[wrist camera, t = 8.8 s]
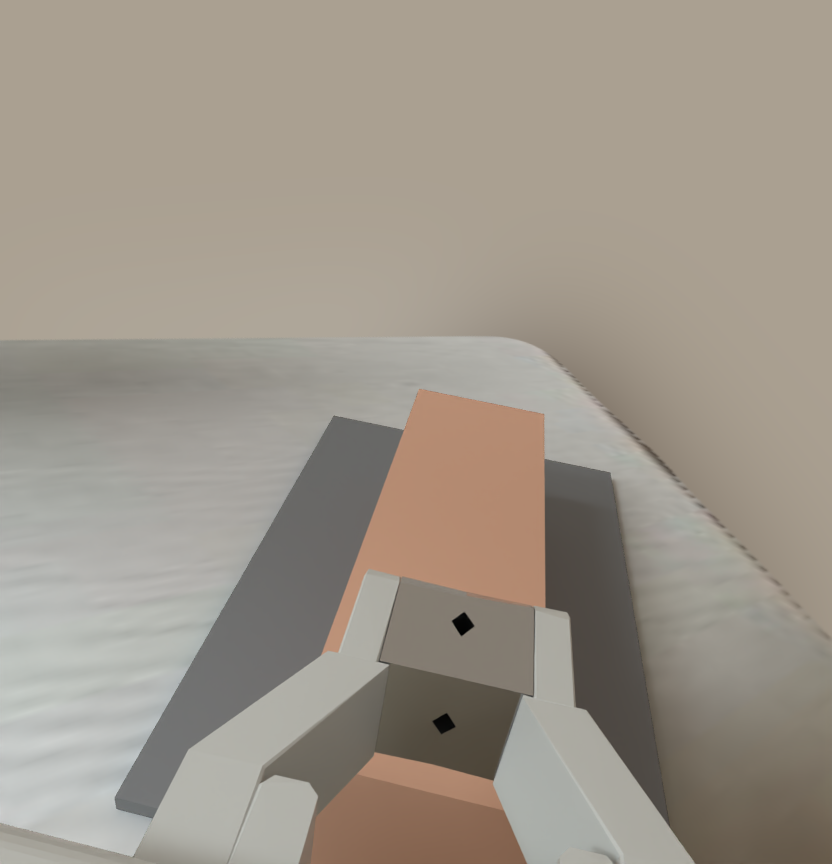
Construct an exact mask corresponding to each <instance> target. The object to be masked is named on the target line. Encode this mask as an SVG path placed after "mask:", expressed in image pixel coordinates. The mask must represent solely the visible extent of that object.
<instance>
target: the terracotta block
mask: <svg viewBox="0 0 832 864" xmlns="http://www.w3.org/2000/svg"><path fill="white" fill-rule="evenodd" d="M368 569H372V570H376V571H380V572H384V573H387V574H391V575H395V576H399V577H401V578H402V576H403V577H407V578H411V579H415V580H419V581H423V582H427V583H432V584H436V585H440V586H444V587H448V588H452V589H456V590H460V591H464V592H470V593H475V594H480V595H484V596H489V597H494V598H498V599H503V600H508V601H513V602H517V603H522V604H527V605H531V606H532V607H533V606H538V607H543V608H545V476H544V414H541V413H536V412H531V411H526V410H521V409H516V408H511V407H506V406H502V405H497V404H492V403H487V402H482V401H477V400H472V399H467V398H462V397H457V396H452V395H447V394H442V393H437V392H432V391H427V390H422V389H419V391H418V393H417V396H416V399H415V402H414V404H413V407H412V410H411V412H410V415H409V418H408V421H407V423H406V426H405V429H404V432H403V434H402V437H401V440H400V442H399V445H398V448H397V451H396V453H395V456H394V459H393V461H392V464H391V467H390V470H389V472H388V475H387V478H386V480H385V483H384V486H383V489H382V491H381V494H380V497H379V499H378V502H377V505H376V508H375V510H374V513H373V516H372V518H371V521H370V524H369V527H368V529H367V532H366V535H365V537H364V540H363V543H362V546H361V548H360V551H359V554H358V556H357V559H356V562H355V565H354V567H353V570H352V573H351V575H350V578H349V581H348V584H347V586H346V589H345V592H344V594H343V597H342V600H341V603H340V605H339V608H338V611H337V614H336V616H335V619H334V622H333V624H332V627H331V630H330V633H329V635H328V638H327V641H326V643H325V646H324V649H323V652H322V654H321V655H323V654H324V653H325V652H327V651H332V652H337V653H338V652H339V649H340V646H341V643H342V640H343V637H344V634H345V631H346V628H347V625H348V622H349V619H350V616H351V613H352V610H353V607H354V604H355V602H356V599H357V596H358V593H359V590H360V587H361V584H362V581H363V578H364V575H365V574H366V572H367V571H368ZM311 864H527V862H526V860H525V858H524V855H523V853H522V851H521V848H520V846H519V844H518V841H517V839H516V837H515V834H514V832H513V830H512V827H511V825H510V823H509V821H508V818H507V816H506V814H505V811H504V809H503V807H502V804H501V802H500V800H499V797H498V795H497V793H496V790H495V788H494V786H493V781H492V780H489V779H485V778H481V777H478V776H474V775H470V774H466V773H463V772H459V771H455V770H451V769H448V768H444V767H440V766H437V765H433V764H428V763H423V762H419V761H414V760H409V759H404V758H399V757H395V756H390V755H385V754H380V753H376V752H374V756H373V757H372V758H371V760H370V761H369V762H368V763H367V764H366V765H365V766H364V767H363V768H362V769H361V770H360V771H359V772H358V773H357V774H356V775H355V776H354V777H353V778H352V780H351V781H350V782H349V783H348V784H347V785H346V786H345V787H344V788H343V789H342V790H341V791H340V792H339V793H338V794H337V795H336V796H335V797H334V798H333V799H332V801H331V802H330V803H329V804H328V805H327V806H326V807H325V808H324V809H323V810H322V811H321V812H320V813H319V814H318V815H317V816H316V820H315V829H314V838H313V847H312V856H311Z"/></svg>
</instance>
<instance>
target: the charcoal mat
mask: <svg viewBox="0 0 832 864" xmlns="http://www.w3.org/2000/svg"><path fill="white" fill-rule="evenodd" d="M403 432H404V430H401V429H396V428H391V427H386V426H381V425H377V424H372V423H367V422H362V421H357V420H352V419H347V418H343V417H338V416H334V417H333V418H332V420H331V422H330V423H329V425H328V427H327V429H326V430H325V432H324V434H323V436H322V437H321V439H320V441H319V443H318V444H317V446H316V448H315V450H314V451H313V453H312V455H311V457H310V458H309V460H308V462H307V463H306V465H305V467H304V469H303V470H302V472H301V474H300V476H299V477H298V479H297V481H296V483H295V484H294V486H293V488H292V490H291V491H290V493H289V495H288V497H287V498H286V500H285V502H284V504H283V505H282V507H281V509H280V510H279V512H278V514H277V516H276V517H275V519H274V521H273V523H272V524H271V526H270V528H269V530H268V531H267V533H266V535H265V537H264V538H263V540H262V542H261V544H260V545H259V547H258V549H257V551H256V552H255V554H254V556H253V557H252V559H251V561H250V563H249V564H248V566H247V568H246V570H245V571H244V573H243V575H242V577H241V578H240V580H239V582H238V584H237V585H236V587H235V589H234V591H233V592H232V594H231V596H230V598H229V599H228V601H227V603H226V604H225V606H224V608H223V610H222V611H221V613H220V615H219V617H218V618H217V620H216V622H215V624H214V625H213V627H212V629H211V631H210V632H209V634H208V636H207V638H206V639H205V641H204V643H203V645H202V646H201V648H200V650H199V651H198V653H197V655H196V657H195V658H194V660H193V662H192V664H191V665H190V667H189V669H188V671H187V672H186V674H185V676H184V678H183V679H182V681H181V683H180V685H179V686H178V688H177V690H176V691H175V693H174V695H173V697H172V698H171V700H170V702H169V704H168V705H167V707H166V709H165V711H164V712H163V714H162V716H161V718H160V719H159V721H158V723H157V725H156V726H155V728H154V730H153V732H152V733H151V735H150V737H149V738H148V740H147V742H146V744H145V745H144V747H143V749H142V751H141V752H140V754H139V756H138V758H137V759H136V761H135V763H134V765H133V766H132V768H131V770H130V772H129V773H128V775H127V777H126V779H125V780H124V782H123V784H122V785H121V787H120V789H119V791H118V792H117V794H116V796H115V803H116V809H119V810H123V811H127V812H131V813H135V814H139V815H143V816H146V817H150V818H153V817H154V815H155V814H156V812H157V810H158V808H159V806H160V804H161V802H162V800H163V798H164V796H165V794H166V792H167V790H168V788H169V786H170V784H171V782H172V780H173V778H174V777H175V775H176V773H177V771H178V769H179V767H180V765H181V763H182V761H183V759H184V757H185V755H186V753H187V751H188V749H190V748H191V747H193V746H194V745H196V744H197V743H198V742H200V741H201V740H203V739H204V738H205V737H207V736H208V735H210V734H211V733H212V732H214V731H215V730H217V729H218V728H220V727H221V726H222V725H224V724H225V723H227V722H228V721H229V720H231V719H232V718H234V717H235V716H236V715H238V714H239V713H241V712H242V711H244V710H245V709H246V708H248V707H249V706H251V705H252V704H253V703H255V702H256V701H258V700H259V699H260V698H262V697H263V696H265V695H266V694H268V693H269V692H270V691H272V690H273V689H275V688H276V687H277V686H279V685H280V684H282V683H283V682H284V681H286V680H287V679H289V678H290V677H292V676H293V675H294V674H296V673H297V672H299V671H300V670H301V669H303V668H304V667H306V666H307V665H308V664H310V663H311V662H313V661H314V660H316V659H317V658H318V657H320V656H321V654H322V652H323V649H324V646H325V643H326V641H327V638H328V635H329V633H330V630H331V627H332V624H333V622H334V619H335V616H336V614H337V611H338V608H339V605H340V603H341V600H342V597H343V594H344V592H345V589H346V586H347V584H348V581H349V578H350V575H351V573H352V570H353V567H354V565H355V562H356V559H357V556H358V554H359V551H360V548H361V546H362V543H363V540H364V537H365V535H366V532H367V529H368V527H369V524H370V521H371V518H372V516H373V513H374V510H375V508H376V505H377V502H378V499H379V497H380V494H381V491H382V489H383V486H384V483H385V480H386V478H387V475H388V472H389V470H390V467H391V464H392V461H393V459H394V456H395V453H396V451H397V448H398V445H399V442H400V440H401V437H402V434H403ZM544 476H545V608H548V609H553V610H558V611H563V612H567V613H568V615H569V617H570V620H571V636H572V652H573V669H574V685H575V702H576V708H580V709H584V710H587V711H588V713H589V714H590V716H591V717H592V718H593V720H594V721H595V723H596V724H597V725H598V727H599V728H600V730H601V731H602V733H603V734H604V735H605V737H606V738H607V740H608V741H609V742H610V744H611V745H612V747H613V748H614V749H615V751H616V752H617V754H618V755H619V757H620V758H621V759H622V761H623V762H624V764H625V765H626V766H627V768H628V769H629V771H630V772H631V773H632V775H633V776H634V778H635V779H636V781H637V782H638V783H639V785H640V786H641V788H642V789H643V790H644V792H645V793H646V795H647V796H648V797H649V799H650V800H651V802H652V803H653V805H654V806H655V807H656V809H657V810H658V812H659V813H660V814H661V816H662V817H663V819H664V820H665V821H666V823H667V824H668V826H669V827H670V825H669V819H668V813H667V807H666V801H665V796H664V790H663V784H662V778H661V772H660V766H659V760H658V754H657V748H656V742H655V736H654V730H653V724H652V718H651V712H650V706H649V700H648V694H647V688H646V682H645V677H644V671H643V665H642V659H641V653H640V647H639V641H638V635H637V629H636V623H635V617H634V611H633V605H632V599H631V593H630V587H629V581H628V575H627V569H626V563H625V558H624V552H623V546H622V540H621V534H620V528H619V522H618V516H617V510H616V504H615V498H614V492H613V486H612V480H611V474H610V472H605V471H600V470H595V469H590V468H585V467H581V466H576V465H571V464H566V463H561V462H556V461H551V460H547V459H544Z"/></svg>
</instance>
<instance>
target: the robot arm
mask: <svg viewBox="0 0 832 864" xmlns="http://www.w3.org/2000/svg"><path fill="white" fill-rule="evenodd" d="M374 752H376V753H380V754H385V755H390V756H395V757H399V758H404V759H409V760H414V761H419V762H423V763H428V764H433V765H437V766H440V767H444V768H448V769H451V770H455V771H459V772H463V773H466V774H470V775H474V776H478V777H481V778H485V779H489V780H492V781H493V786H494V788H495V790H496V793H497V795H498V797H499V800H500V802H501V804H502V807H503V809H504V811H505V814H506V816H507V818H508V821H509V823H510V825H511V827H512V830H513V832H514V834H515V837H516V839H517V841H518V844H519V846H520V848H521V851H522V853H523V855H524V858H525V860H526V862H527V864H695V862H694V861H693V860H692V858H691V857H690V855H689V854H688V853H687V851H686V850H685V848H684V847H683V845H682V844H681V843H680V841H679V840H678V838H677V837H676V836H675V834H674V833H673V831H672V830H671V829H670V827H669V826H668V824H667V823H666V821H665V820H664V819H663V817H662V816H661V814H660V813H659V812H658V810H657V809H656V807H655V806H654V805H653V803H652V802H651V800H650V799H649V797H648V796H647V795H646V793H645V792H644V790H643V789H642V788H641V786H640V785H639V783H638V782H637V781H636V779H635V778H634V776H633V775H632V773H631V772H630V771H629V769H628V768H627V766H626V765H625V764H624V762H623V761H622V759H621V758H620V757H619V755H618V754H617V752H616V751H615V749H614V748H613V747H612V745H611V744H610V742H609V741H608V740H607V738H606V737H605V735H604V734H603V733H602V731H601V730H600V728H599V727H598V725H597V724H596V723H595V721H594V720H593V718H592V717H591V716H590V714H589V713H588V711H587V710H584V709H580V708H576V702H575V685H574V669H573V652H572V636H571V620H570V617H569V615H568V613H567V612H563V611H558V610H553V609H548V608H543V607H538V606H533V607H532V606H531V605H527V604H522V603H517V602H513V601H508V600H503V599H498V598H494V597H489V596H484V595H480V594H475V593H470V592H464V591H460V590H456V589H452V588H448V587H444V586H440V585H436V584H432V583H427V582H423V581H419V580H415V579H411V578H407V577H403V576H402V578H401V577H399V576H395V575H391V574H387V573H384V572H380V571H376V570H372V569H368V571H367V572H366V574H365V575H364V578H363V581H362V584H361V587H360V590H359V593H358V596H357V599H356V602H355V604H354V607H353V610H352V613H351V616H350V619H349V622H348V625H347V628H346V631H345V634H344V637H343V640H342V643H341V646H340V649H339V652H338V653H337V652H332V651H327V652H325V653H324V654H323V655H321V656H320V657H318V658H317V659H316V660H314V661H313V662H311V663H310V664H308V665H307V666H306V667H304V668H303V669H301V670H300V671H299V672H297V673H296V674H294V675H293V676H292V677H290V678H289V679H287V680H286V681H284V682H283V683H282V684H280V685H279V686H277V687H276V688H275V689H273V690H272V691H270V692H269V693H268V694H266V695H265V696H263V697H262V698H260V699H259V700H258V701H256V702H255V703H253V704H252V705H251V706H249V707H248V708H246V709H245V710H244V711H242V712H241V713H239V714H238V715H236V716H235V717H234V718H232V719H231V720H229V721H228V722H227V723H225V724H224V725H222V726H221V727H220V728H218V729H217V730H215V731H214V732H212V733H211V734H210V735H208V736H207V737H205V738H204V739H203V740H201V741H200V742H198V743H197V744H196V745H194V746H193V747H191V748H190V749H188V751H187V753H186V755H185V757H184V759H183V761H182V763H181V765H180V767H179V769H178V771H177V773H176V775H175V777H174V778H173V780H172V782H171V784H170V786H169V788H168V790H167V792H166V794H165V796H164V798H163V800H162V802H161V804H160V806H159V808H158V810H157V812H156V814H155V815H154V817H153V819H152V821H151V823H150V825H149V827H148V829H147V831H146V833H145V835H144V837H143V839H142V841H141V843H140V845H139V847H138V849H137V851H136V852H135V854H134V856H133V857H130V856H127V855H123V854H119V853H115V852H111V851H107V850H103V849H99V848H95V847H92V846H88V845H84V844H80V843H76V842H72V841H68V840H64V839H61V838H57V837H53V836H49V835H45V834H41V833H37V832H33V831H29V830H26V829H22V828H18V827H14V826H10V825H6V824H2V823H0V864H311V856H312V847H313V838H314V829H315V820H316V816H317V815H318V814H319V813H320V812H321V811H322V810H323V809H324V808H325V807H326V806H327V805H328V804H329V803H330V802H331V801H332V799H333V798H334V797H335V796H336V795H337V794H338V793H339V792H340V791H341V790H342V789H343V788H344V787H345V786H346V785H347V784H348V783H349V782H350V781H351V780H352V778H353V777H354V776H355V775H356V774H357V773H358V772H359V771H360V770H361V769H362V768H363V767H364V766H365V765H366V764H367V763H368V762H369V761H370V760H371V758H372V757H373V756H374Z"/></svg>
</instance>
